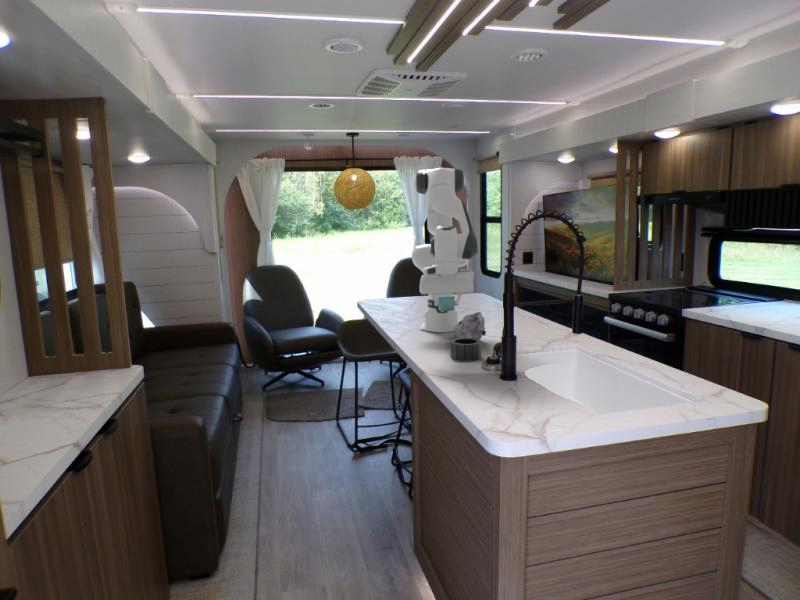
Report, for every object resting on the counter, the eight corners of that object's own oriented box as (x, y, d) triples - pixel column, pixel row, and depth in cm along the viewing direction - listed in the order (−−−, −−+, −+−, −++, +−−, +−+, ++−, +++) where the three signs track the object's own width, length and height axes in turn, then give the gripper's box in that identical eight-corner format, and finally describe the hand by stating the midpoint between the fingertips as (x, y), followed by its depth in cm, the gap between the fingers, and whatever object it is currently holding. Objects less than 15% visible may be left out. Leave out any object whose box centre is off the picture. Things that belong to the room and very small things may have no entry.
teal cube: (437, 308, 205) (437, 295, 205) (453, 308, 206) (453, 295, 205) (439, 311, 199) (439, 297, 199) (455, 310, 200) (455, 297, 199)
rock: (479, 354, 210) (494, 319, 209) (456, 345, 209) (471, 310, 207) (466, 342, 232) (479, 310, 231) (445, 334, 230) (459, 302, 229)
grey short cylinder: (448, 353, 202) (448, 338, 201) (477, 353, 203) (477, 337, 202) (453, 361, 191) (452, 345, 190) (483, 360, 192) (483, 344, 191)
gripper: (472, 267, 204) (472, 303, 206) (418, 268, 203) (419, 304, 205) (475, 268, 198) (475, 306, 199) (420, 270, 197) (420, 307, 199)
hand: (446, 305), depth 202 cm, fingers closed on teal cube, 6 cm apart
